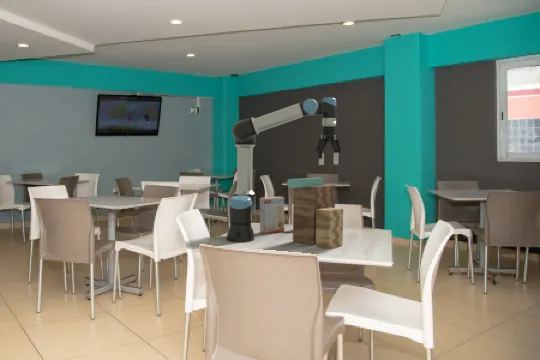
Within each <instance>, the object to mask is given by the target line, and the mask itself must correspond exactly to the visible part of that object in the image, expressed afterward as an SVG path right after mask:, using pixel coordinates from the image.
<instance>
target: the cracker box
mask: <svg viewBox="0 0 540 360" xmlns="http://www.w3.org/2000/svg"><path fill="white" fill-rule="evenodd" d="M284 232H285V197H284V196H264V197H260V198H259V233H261V234H264V235H266V234H267V235H268V234H275V233H284Z"/></svg>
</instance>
